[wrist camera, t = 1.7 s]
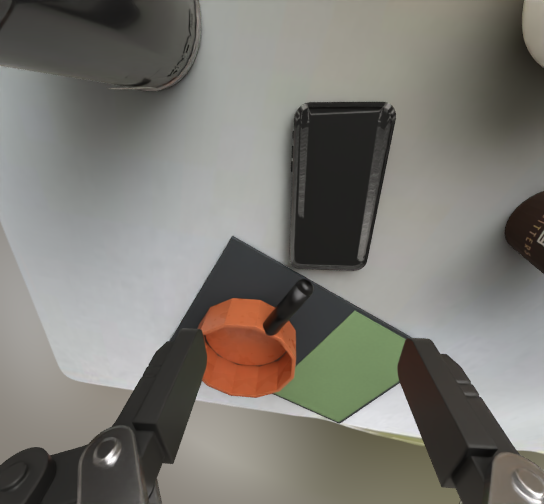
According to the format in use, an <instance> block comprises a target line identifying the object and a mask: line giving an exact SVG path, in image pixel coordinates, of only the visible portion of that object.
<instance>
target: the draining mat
mask: <svg viewBox="0 0 544 504" xmlns="http://www.w3.org/2000/svg"><path fill="white" fill-rule="evenodd" d="M301 279H307V278H306V277H304V276H302V275H300V274H299V273H297V272H295V271H293V270H292V269H290V268H288V267H286V266H285V265H283V264H281V263H279V262H278V261H276V260H274V259H272V258H270V257H269V256H267V255H265V254H263V253H262V252H260V251H258V250H256V249H255V248H253V247H251V246H249V245H248V244H246V243H244V242H242V241H241V240H239V239H237V238H235V237H233V236H232V238H231V240H230V241H229V243H228V245H227V246H226V248H225V250H224V251H223V253H222V255H221V256H220V258H219V260H218V262H217V263H216V265H215V267H214V268H213V270H212V272H211V273H210V275H209V277H208V278H207V280H206V282H205V283H204V285H203V287H202V288H201V290H200V292H199V293H198V295H197V297H196V298H195V300H194V302H193V303H192V305H191V307H190V308H189V310H188V312H187V313H186V315H185V317H184V318H183V320H182V322H181V323H180V325H179V327H178V328H177V330H176V332H175V333H174V335H173V337H172V338H171V340H170V342H174V341H175V339H176V337H177V335H178V333H179V331H180V330H181V329H182V328H187V329H197V328H198V326H199V324H200V322H201V321H202V319H203V318H204V316H205V315H206V313H207V311H208V310H209V308H210V307H212V306H214V305H217V304H219V303H222V302H224V301H227V300H229V299H232V298H239V299H254V300H261V301H263V302H265V303H267V304H269V305H271V306H273V307H275V308H276V306H277V305H278V304H279V303H280V302H281V300H282V299H283V298H284V297H285V296H286V294H287V293H288V292H289V291H290V290H291V288H292V287H293V286H294V285H295V284H296V282H297V281H299V280H301ZM307 280H309V279H307ZM309 281H310V282H311V283H312V284H313V287H314V291H313V293H312V295H311V296H310V297H309V298H308V299H307V300H306V302H305V303H304V304H303V305H302V306H301V307H300V308H299V309H298V310H297V312H296V313H295V314H294V315H293V316H292V317H291V318H290V319H289V321H290V323H291V324H292V326H293V327H294V329H295V330H296V365H295V374H294V378H293V379H292V380H291V381H290V382H289V383H288V384H287V385H286V386H285V387H284V388H282V389H281V390H280V391H279V392H276V393H272V394H274V395H276V396H279V397H281V398H283V399H285V400H288V401H290V402H292V403H294V404H297V405H299V406H301V407H303V408H306V409H308V410H310V411H312V412H315V413H317V414H319V415H321V416H324V417H326V418H328V419H330V420H333V421H335V422H337V423H339V424H340V423H341V422H343V421H344V420H346V419H347V418H349V417H350V416H352V415H353V414H355V413H356V412H358V411H359V410H360V409H362V408H363V407H365V406H366V405H368V404H369V403H371V402H372V401H374V400H375V399H377V398H378V397H380V396H381V395H383V394H384V393H386V392H387V391H388V390H390V389H391V388H393V387H394V386H396V385H397V384H399V383H400V381H399V378H398V372H397V366H398V362H399V358H400V355H401V352H402V349H403V346H404V343H405V340H406V339H407V338H411V337H410V336H408V335H406V334H404V333H403V332H401V331H399V330H397V329H395V328H394V327H392V326H390V325H388V324H387V323H385V322H383V321H381V320H380V319H378V318H376V317H374V316H373V315H371V314H369V313H367V312H366V311H364V310H362V309H360V308H358V307H357V306H355V305H353V304H351V303H350V302H348V301H346V300H344V299H343V298H341V297H339V296H337V295H336V294H334V293H332V292H330V291H329V290H327V289H325V288H323V287H322V286H320V285H318V284H316V283H314V282H313V281H311V280H309ZM204 336H205V342H206V343H207V344H208V345H209V343H208V341H207V339H206V335H204ZM209 346H210V345H209ZM210 347H211V346H210ZM213 351H214V350H213ZM214 352H215V351H214ZM286 352H287V351H286ZM286 352H285V353H286ZM215 353H216V352H215ZM285 353H284V354H285ZM216 354H217V353H216ZM284 354H283V355H284ZM217 355H218V356H220V355H219V354H217ZM283 355H282V356H283ZM282 356H281V357H282ZM220 357H221V356H220ZM281 357H280V358H281ZM222 358H223V357H222ZM280 358H278V359H277V360H275V361H278V360H279V359H280ZM224 359H225V358H224ZM226 360H227V359H226ZM275 361H273V362H275ZM233 363H234V362H233ZM270 363H272V362H270ZM235 364H237V363H235ZM237 365H242V364H237ZM264 365H265V364H264ZM250 366H251V365H250ZM255 366H262V365H255Z"/></svg>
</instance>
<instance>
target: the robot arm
mask: <svg viewBox="0 0 544 504" xmlns="http://www.w3.org/2000/svg"><path fill="white" fill-rule="evenodd" d="M200 37H201V12H200V5H199V0H0V66H3V67H9V68H15V69H21V70H27V71H34V72H40V73H46V74H52V75H58V76H65V77H71V78H77V79H83V80H89V81H96V82H102V83H108V84H113V85H119V86H126V87H129V88H108V89H115V90H118V89H136V90H141V91H161V90H165V89H167V88H170V87H172V86H173V85H175V84H176V83H178V82H179V81H180V80H181V79H182V78H183V77H184V76H185V75H186V74H187V73H188V71H189V70H190V68H191V66H192V64H193V63H194V60H195V58H196V55H197V52H198V48H199V44H200ZM206 365H207V352H206V347H205V342H204V337H203V333H202V330H201V329H187V328H182V329H181V330H180V331H179V333H178V335H177V337H176V339H175V341H174V342H170V341H167V342H166V343H165V344H164V345H163V346H162V347H161V348H160V349H159V350H157V351H156V353H155V355H154V356H153V358H152V360H151V361H150V363H149V366H148V367H147V368H146V370H145V372H144V374H143V377H142V378H141V379H140V380H139V382H138V384H137V386H136V387H135V389H134V391H133V393H132V394H131V396H130V398H129V399H128V401H127V403H126V405H125V406H124V408H123V410H122V412H121V414H120V415H119V417H118V419H117V420H116V422H115V423H114V424H113V426H112V427H110V428H108V429H106V430H104V431H103V432H101V433H100V434H98V435H97V436H96V437H95V438H94V439H93V440H92V441H91V442H90V443H89V444H88V445H85V446H82V447H79V448H75V449H72V450H68V451H65V452H61V453H58V454H54V455H49V454H48V453H47V452H46V451H45V450H44V449H43V448H39V447H34V448H29V449H25V450H23V451H21V452H19V453H17V454H15V455H13V456H12V457H10V458H9V459H8V460H6V461H5V462H4V463H3V464H2V465H0V504H162V501H161V496H160V491H159V487H158V481H157V476H158V473H159V471H160V468H161V465H162V463H168V464H173V463H174V460H175V457H176V454H177V451H178V449H179V445H180V442H181V440H182V437H183V434H184V431H185V428H186V425H187V422H188V419H189V417H190V414H191V411H192V407H193V405H194V402H195V399H196V396H197V393H198V390H199V387H200V385H201V382H202V379H203V376H204V373H205V370H206ZM397 372H398V378H399V381H400V384H401V386H402V389H403V391H404V394H405V396H406V399H407V401H408V404H409V406H410V409H411V411H412V414H413V416H414V419H415V421H416V424H417V426H418V429H419V432H420V434H421V437H422V439H423V442H424V444H425V447H426V449H427V451H428V454H429V457H430V459H431V462H432V464H433V467H434V469H435V471H436V474H437V477H438V479H439V482H440V484H441V487H446V488H456V490H457V492H458V494H459V496H460V499H461V501H460V503H459V504H544V470H543V469H541V468H540V467H539V466H538V465H536V464H535V463H533V462H532V461H530V460H529V459H527V458H525V457H523V456H521V455H520V454H519V453H518V452H517V450H516V449H515V448H514V446H513V445H512V443H511V442H510V440H509V439H508V437H507V436H506V434H505V433H504V431H503V430H502V428H501V427H500V425H499V424H498V422H497V421H496V419H495V418H494V416H493V415H492V413H491V412H490V410H489V409H488V407H487V406H486V404H485V403H484V401H483V399H482V398H481V397H479V393H478V392H477V390H476V389H475V387H474V386H473V385H471V381H470V380H469V378H468V377H467V375H466V374H465V372H464V371H463V369H462V368H461V367H460V366H459V365H458V364H457V363H456V362H455V361H454V360H453V359H451V358H450V357H449V356H448V355H447V354H440V353H439V351H438V350H437V348H436V346H435V345H434V343H433V342H432V341H431V340H430V339H425V338H407V339H406V340H405V343H404V346H403V349H402V352H401V355H400V358H399V362H398V366H397Z"/></svg>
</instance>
